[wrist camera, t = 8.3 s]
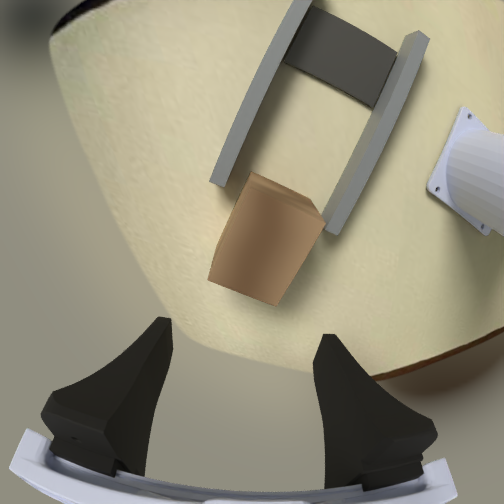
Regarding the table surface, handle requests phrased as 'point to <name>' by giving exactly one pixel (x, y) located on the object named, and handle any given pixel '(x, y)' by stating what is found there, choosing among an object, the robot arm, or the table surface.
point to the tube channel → (342, 77)
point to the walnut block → (265, 240)
